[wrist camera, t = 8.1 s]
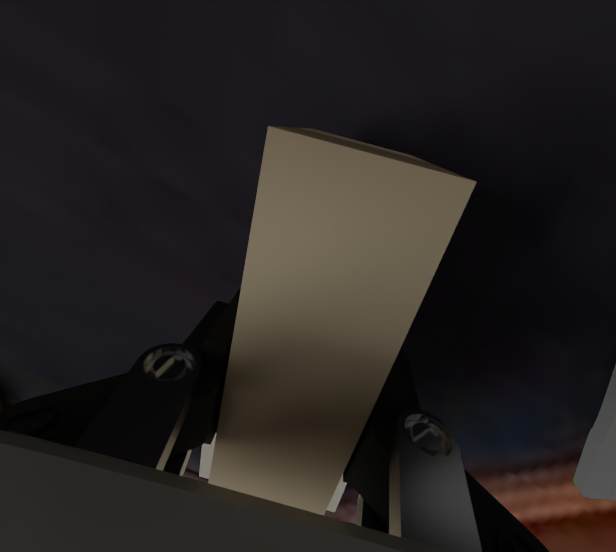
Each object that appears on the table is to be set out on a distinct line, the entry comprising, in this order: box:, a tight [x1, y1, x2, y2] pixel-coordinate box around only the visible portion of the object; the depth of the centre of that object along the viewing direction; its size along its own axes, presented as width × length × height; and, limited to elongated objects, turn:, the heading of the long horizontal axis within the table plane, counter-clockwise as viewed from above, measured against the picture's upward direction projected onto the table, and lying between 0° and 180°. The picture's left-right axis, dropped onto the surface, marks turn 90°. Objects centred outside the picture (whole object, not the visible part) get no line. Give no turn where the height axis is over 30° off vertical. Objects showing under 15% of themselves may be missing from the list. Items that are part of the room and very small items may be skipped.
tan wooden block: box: [208, 126, 476, 515], centre depth 10 cm, size 12×3×6 cm, turn 167°
